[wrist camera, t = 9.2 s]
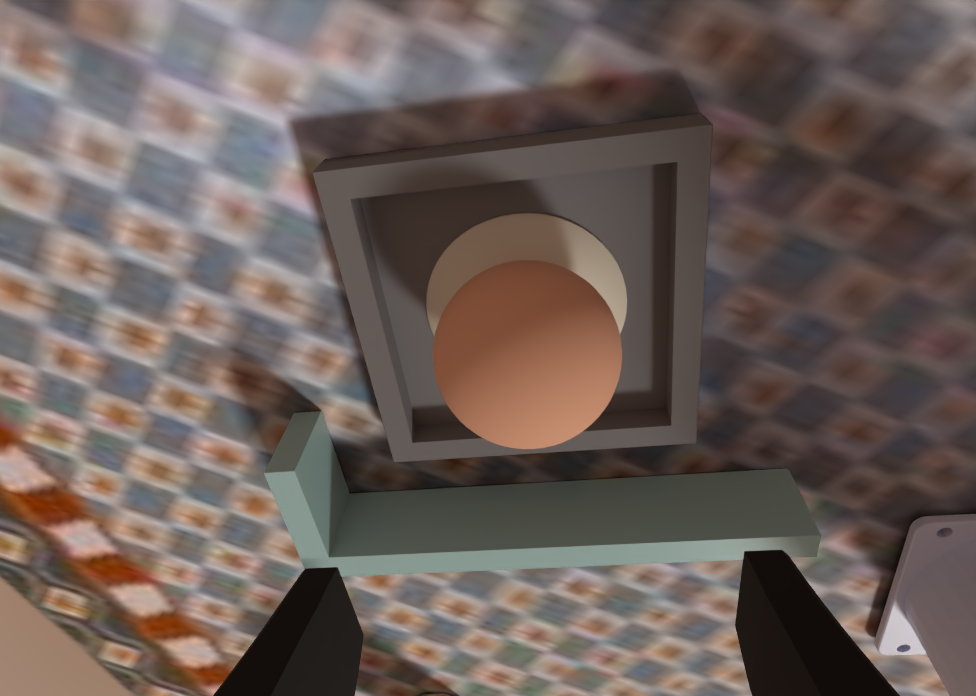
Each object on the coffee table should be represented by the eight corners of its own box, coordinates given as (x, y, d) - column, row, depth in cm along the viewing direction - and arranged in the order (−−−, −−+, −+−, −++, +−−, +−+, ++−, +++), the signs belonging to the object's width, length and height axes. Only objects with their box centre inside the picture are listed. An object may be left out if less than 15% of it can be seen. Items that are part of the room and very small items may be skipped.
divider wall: (802, 375, 20) (841, 436, 18) (784, 488, 23) (816, 556, 20) (294, 412, 22) (263, 473, 20) (331, 513, 25) (308, 577, 22)
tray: (701, 112, 16) (712, 124, 15) (688, 420, 21) (696, 443, 20) (325, 159, 17) (312, 172, 16) (400, 439, 23) (394, 462, 22)
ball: (607, 222, 18) (636, 307, 13) (611, 371, 20) (637, 483, 16) (429, 240, 18) (402, 329, 14) (456, 384, 21) (440, 496, 16)
